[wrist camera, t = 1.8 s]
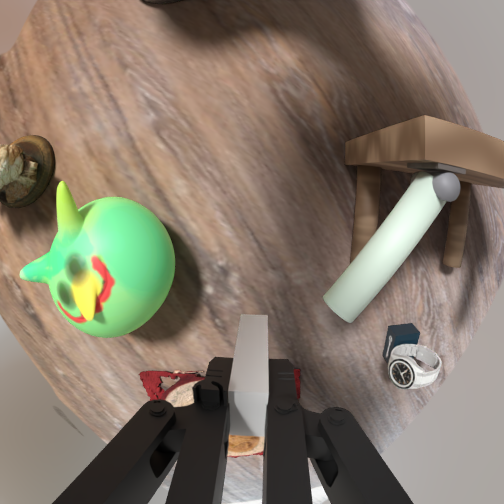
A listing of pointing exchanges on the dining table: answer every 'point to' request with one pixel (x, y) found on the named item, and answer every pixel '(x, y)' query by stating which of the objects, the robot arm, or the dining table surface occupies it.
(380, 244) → the hinged leg
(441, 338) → the dining table surface
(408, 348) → the watch
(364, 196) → the stool
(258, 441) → the plate with food
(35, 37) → the dining table surface
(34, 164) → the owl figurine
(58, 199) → the toy bird
